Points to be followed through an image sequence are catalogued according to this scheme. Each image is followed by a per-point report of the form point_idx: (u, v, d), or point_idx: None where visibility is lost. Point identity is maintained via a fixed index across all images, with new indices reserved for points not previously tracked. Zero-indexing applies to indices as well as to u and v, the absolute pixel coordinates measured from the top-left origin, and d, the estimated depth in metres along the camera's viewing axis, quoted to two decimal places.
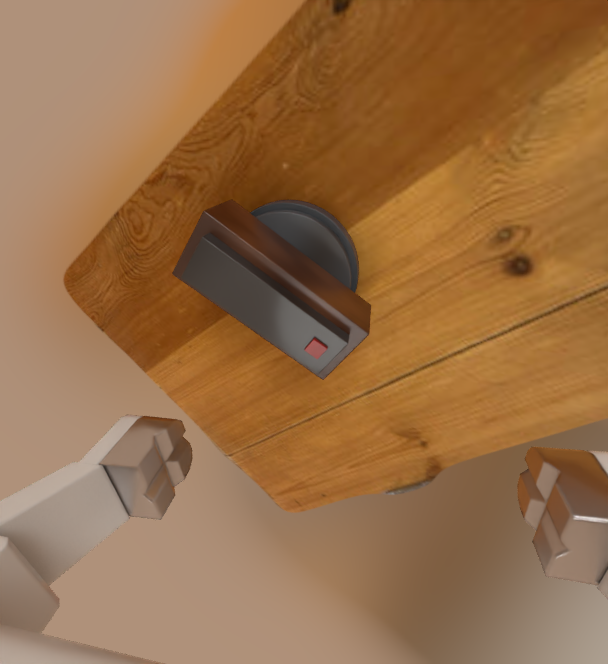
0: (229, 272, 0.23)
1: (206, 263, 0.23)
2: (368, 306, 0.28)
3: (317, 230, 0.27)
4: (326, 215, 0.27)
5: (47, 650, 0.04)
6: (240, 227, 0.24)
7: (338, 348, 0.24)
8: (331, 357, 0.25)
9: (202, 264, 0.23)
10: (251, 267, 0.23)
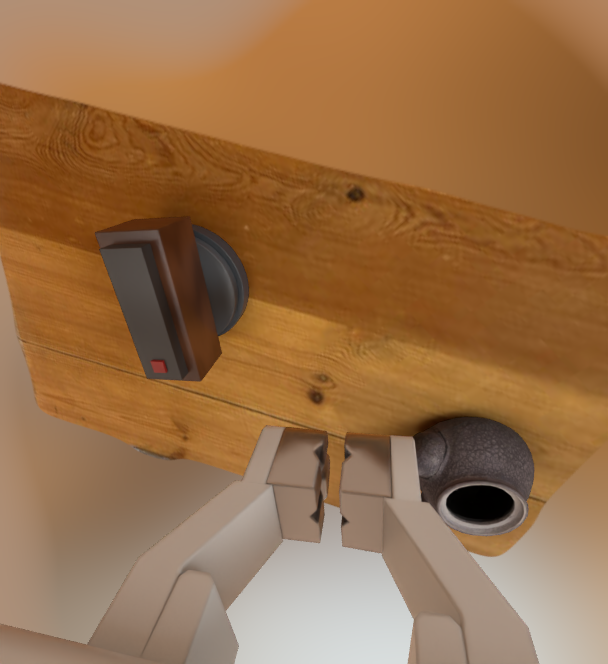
0: (140, 281, 0.27)
1: (128, 262, 0.26)
2: (218, 354, 0.36)
3: (228, 289, 0.33)
4: (243, 282, 0.33)
5: (47, 650, 0.04)
6: (176, 253, 0.28)
7: (173, 377, 0.31)
8: (164, 377, 0.31)
9: (124, 259, 0.26)
10: (160, 289, 0.27)
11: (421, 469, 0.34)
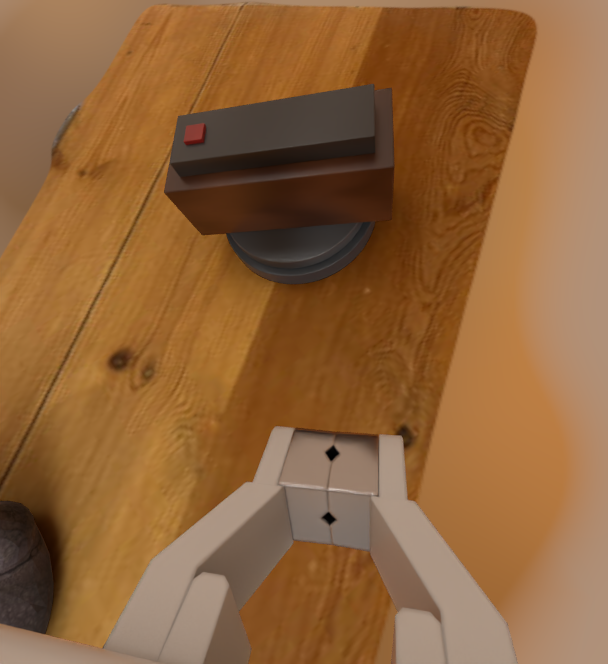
0: (325, 128, 0.19)
1: (354, 117, 0.19)
2: (201, 229, 0.25)
3: (292, 255, 0.24)
4: (297, 276, 0.25)
5: (47, 650, 0.04)
6: (353, 189, 0.20)
7: (175, 152, 0.21)
8: (176, 139, 0.21)
9: (358, 113, 0.19)
10: (309, 154, 0.19)
11: None
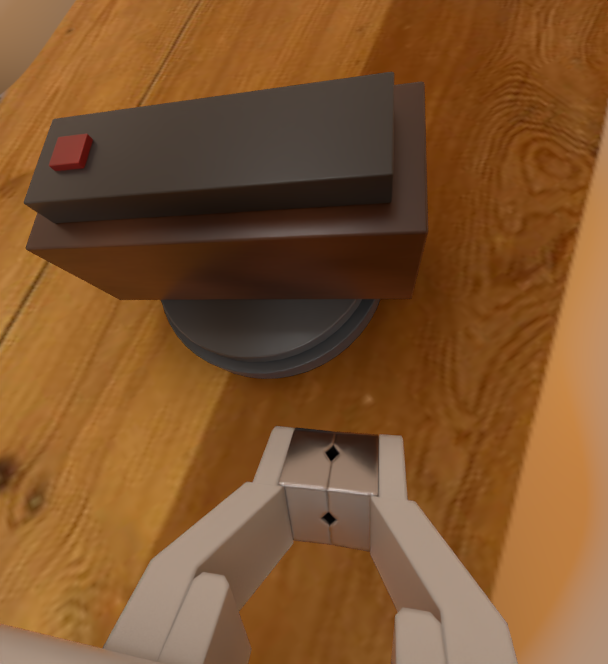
0: (297, 153, 0.10)
1: (354, 134, 0.10)
2: (114, 294, 0.16)
3: (251, 345, 0.15)
4: (260, 374, 0.16)
5: (47, 650, 0.04)
6: (349, 260, 0.11)
7: (35, 183, 0.12)
8: (41, 160, 0.12)
9: (361, 126, 0.10)
10: (268, 200, 0.10)
11: None
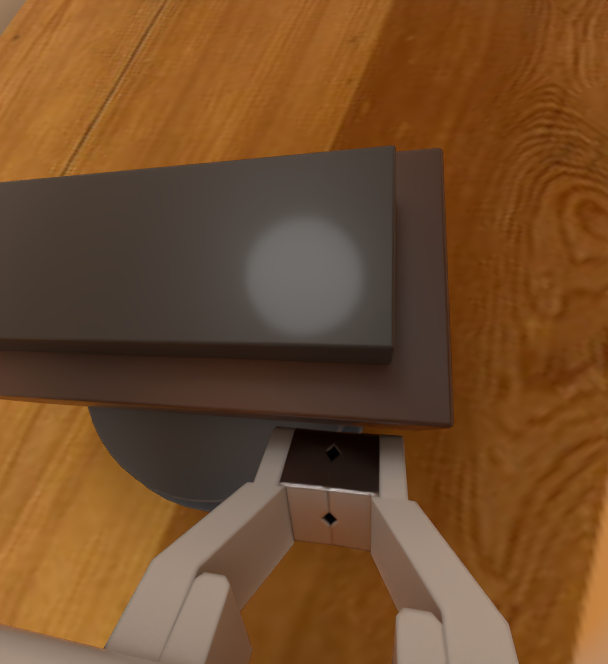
0: (231, 288, 0.06)
1: (326, 260, 0.06)
2: None
3: (200, 484, 0.11)
4: None
5: (47, 650, 0.04)
6: (326, 421, 0.07)
7: None
8: None
9: (339, 246, 0.06)
10: (190, 352, 0.06)
11: None
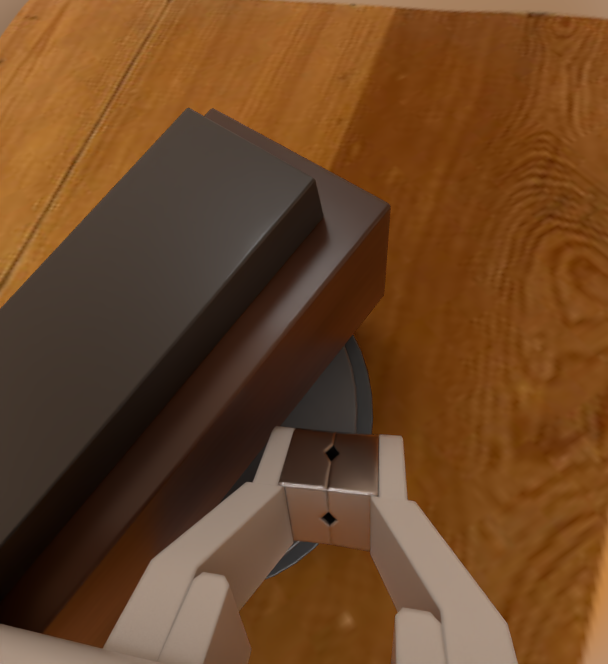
0: (185, 260, 0.06)
1: (224, 186, 0.07)
2: None
3: None
4: None
5: (47, 650, 0.04)
6: (332, 312, 0.08)
7: None
8: None
9: (222, 173, 0.07)
10: (204, 342, 0.07)
11: None
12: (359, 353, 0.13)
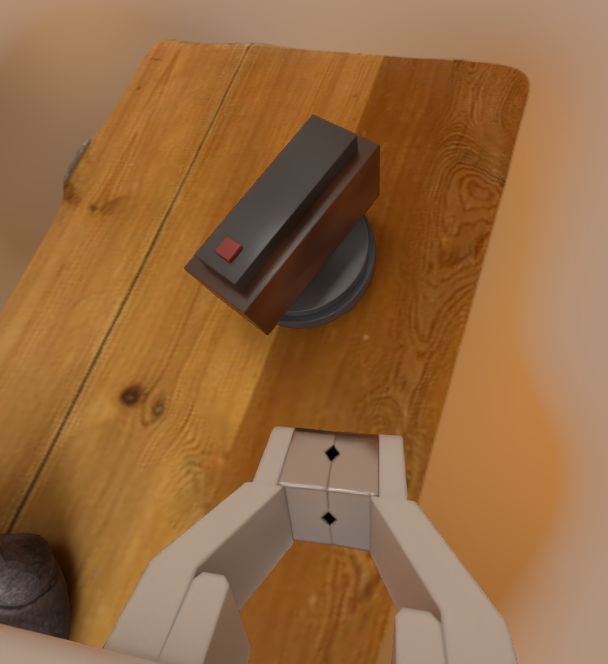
0: (319, 160, 0.21)
1: (328, 138, 0.22)
2: (267, 329, 0.25)
3: (350, 275, 0.26)
4: (301, 323, 0.27)
5: (47, 650, 0.04)
6: (360, 186, 0.23)
7: (228, 274, 0.20)
8: (216, 267, 0.21)
9: (327, 135, 0.22)
10: (323, 186, 0.22)
11: None
12: (368, 224, 0.28)
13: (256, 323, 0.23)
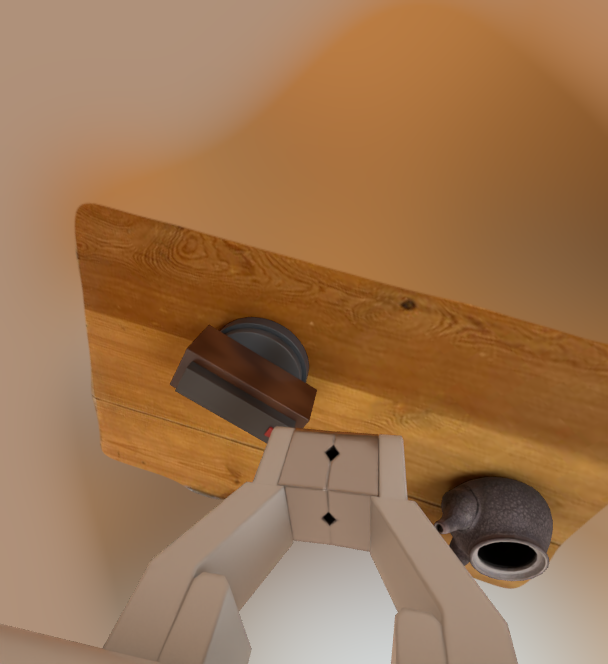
0: (207, 388, 0.34)
1: (191, 382, 0.34)
2: (313, 392, 0.38)
3: (271, 343, 0.37)
4: (306, 366, 0.39)
5: (47, 650, 0.04)
6: (214, 352, 0.35)
7: None
8: None
9: (188, 383, 0.34)
10: (222, 382, 0.34)
11: (457, 525, 0.40)
12: (230, 326, 0.38)
13: (312, 405, 0.37)
